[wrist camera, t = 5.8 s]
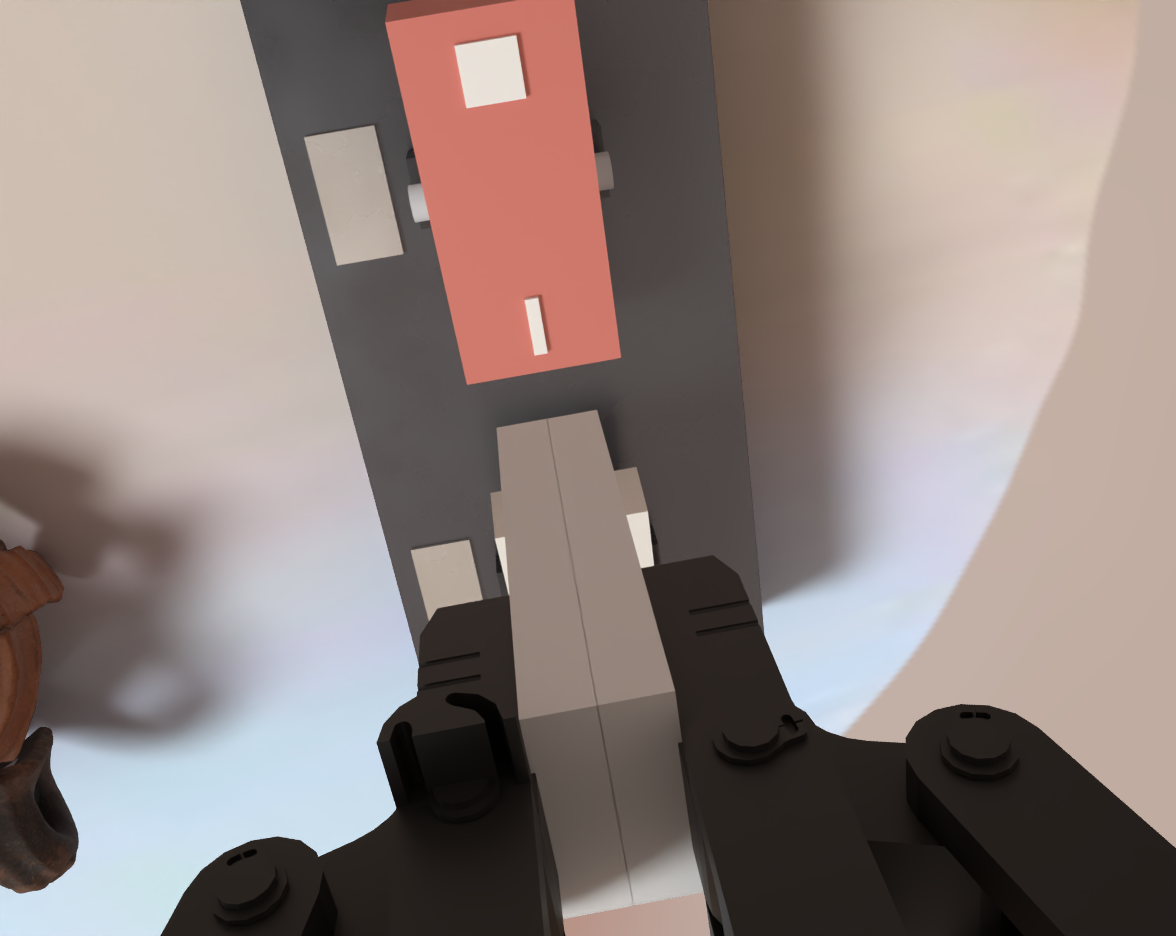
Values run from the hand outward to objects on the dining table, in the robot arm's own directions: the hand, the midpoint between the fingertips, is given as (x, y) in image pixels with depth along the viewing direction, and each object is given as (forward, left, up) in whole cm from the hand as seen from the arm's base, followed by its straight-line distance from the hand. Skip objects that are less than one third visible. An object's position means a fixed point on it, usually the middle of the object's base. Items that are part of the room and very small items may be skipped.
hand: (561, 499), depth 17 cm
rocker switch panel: (+1, 0, -16) cm, 16 cm away
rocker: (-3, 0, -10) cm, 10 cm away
